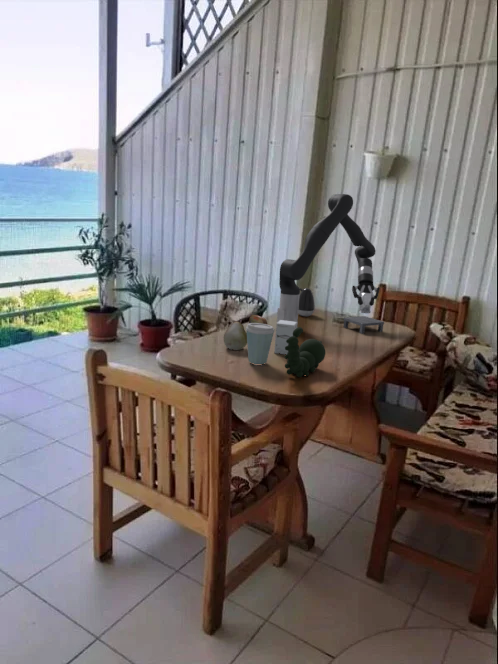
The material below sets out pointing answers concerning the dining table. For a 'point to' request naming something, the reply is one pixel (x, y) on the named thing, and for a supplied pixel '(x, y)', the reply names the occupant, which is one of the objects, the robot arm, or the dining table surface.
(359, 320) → the stand
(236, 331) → the fruit
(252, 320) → the tin
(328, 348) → the dining table surface
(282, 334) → the supplement box
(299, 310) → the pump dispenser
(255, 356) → the disposable coffee cup
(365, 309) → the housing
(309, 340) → the toy figurine
